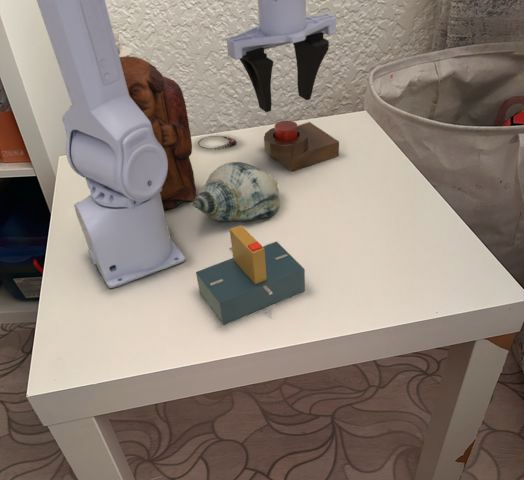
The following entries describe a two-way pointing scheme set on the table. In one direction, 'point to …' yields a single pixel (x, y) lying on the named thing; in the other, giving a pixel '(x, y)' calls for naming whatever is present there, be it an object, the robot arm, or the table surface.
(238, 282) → the plate
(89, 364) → the table surface
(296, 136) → the button
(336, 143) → the button block
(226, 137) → the necklace
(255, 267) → the tap handle
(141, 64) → the wooden figurine
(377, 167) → the table surface
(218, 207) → the seashell
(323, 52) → the robot arm
